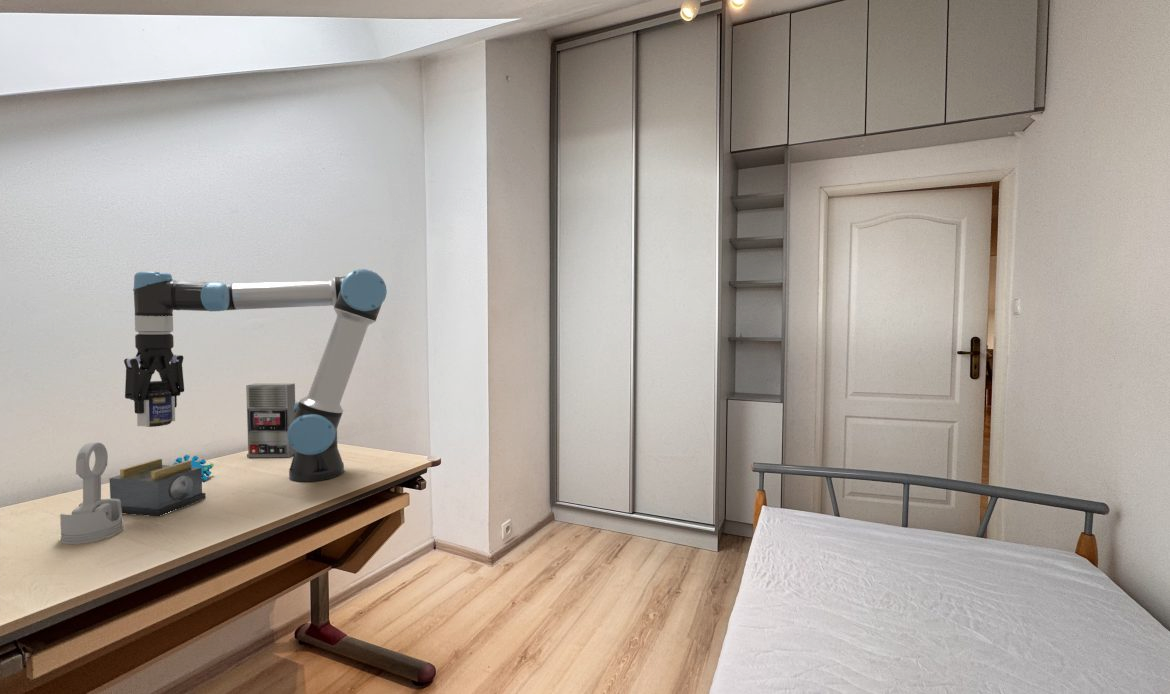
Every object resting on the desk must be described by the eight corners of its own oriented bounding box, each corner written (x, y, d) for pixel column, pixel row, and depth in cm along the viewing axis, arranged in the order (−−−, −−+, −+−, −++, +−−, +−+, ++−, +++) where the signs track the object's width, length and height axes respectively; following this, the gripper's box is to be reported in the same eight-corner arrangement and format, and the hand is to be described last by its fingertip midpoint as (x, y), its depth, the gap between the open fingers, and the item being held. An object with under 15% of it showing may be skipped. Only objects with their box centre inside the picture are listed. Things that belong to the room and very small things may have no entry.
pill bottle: (155, 427, 131) (153, 384, 130) (134, 426, 132) (133, 382, 131) (178, 422, 137) (176, 381, 136) (158, 421, 138) (157, 380, 137)
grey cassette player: (246, 458, 179) (244, 385, 177) (256, 453, 185) (254, 383, 183) (288, 458, 180) (287, 385, 178) (297, 453, 186) (295, 383, 184)
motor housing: (205, 498, 140) (204, 459, 140) (159, 516, 127) (157, 474, 127) (157, 494, 143) (156, 456, 142) (107, 512, 130) (105, 470, 129)
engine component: (49, 546, 111) (107, 541, 114) (44, 451, 110) (102, 448, 112) (82, 526, 121) (134, 522, 124) (77, 439, 120) (130, 437, 123)
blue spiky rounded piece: (180, 483, 147) (168, 455, 150) (170, 496, 149) (158, 468, 152) (221, 478, 157) (209, 451, 161) (211, 490, 159) (199, 463, 162)
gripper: (177, 331, 143) (179, 415, 144) (101, 333, 124) (104, 430, 126) (200, 332, 142) (202, 417, 143) (128, 334, 123) (130, 432, 124)
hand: (156, 423), depth 134 cm, fingers closed on pill bottle, 6 cm apart
